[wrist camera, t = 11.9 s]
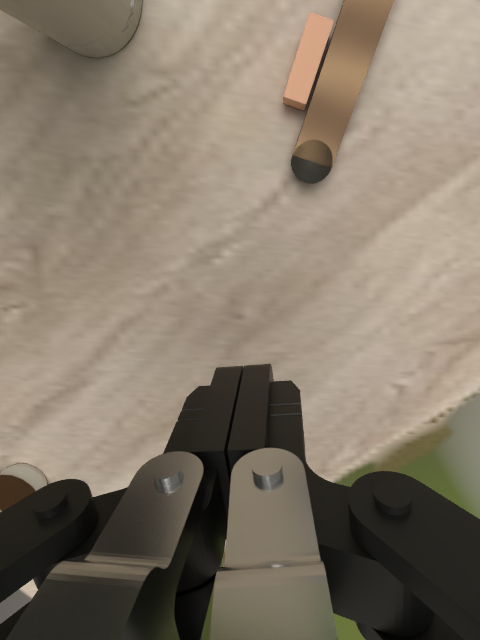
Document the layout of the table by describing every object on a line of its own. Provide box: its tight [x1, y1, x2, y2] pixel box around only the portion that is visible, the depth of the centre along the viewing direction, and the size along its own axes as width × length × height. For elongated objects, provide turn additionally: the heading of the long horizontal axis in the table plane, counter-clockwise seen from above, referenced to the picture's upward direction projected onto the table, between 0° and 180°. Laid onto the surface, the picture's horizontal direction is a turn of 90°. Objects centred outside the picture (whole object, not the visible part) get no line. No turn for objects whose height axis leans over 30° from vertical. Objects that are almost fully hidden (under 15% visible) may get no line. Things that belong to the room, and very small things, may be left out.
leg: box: [291, 0, 394, 183], centre depth 32 cm, size 24×4×4 cm, turn 163°
